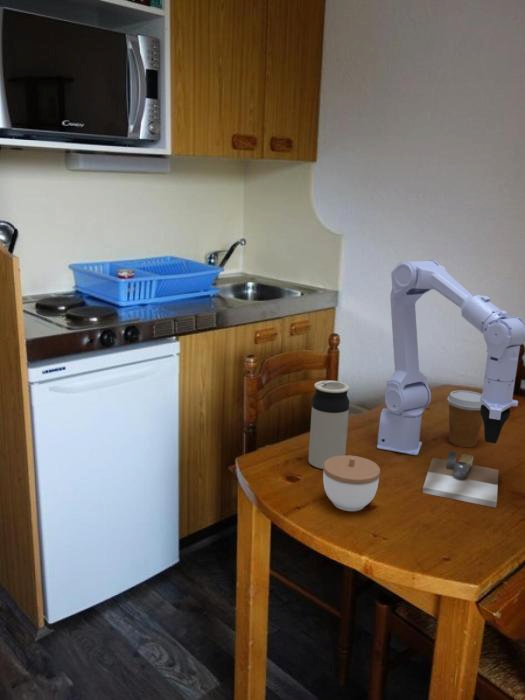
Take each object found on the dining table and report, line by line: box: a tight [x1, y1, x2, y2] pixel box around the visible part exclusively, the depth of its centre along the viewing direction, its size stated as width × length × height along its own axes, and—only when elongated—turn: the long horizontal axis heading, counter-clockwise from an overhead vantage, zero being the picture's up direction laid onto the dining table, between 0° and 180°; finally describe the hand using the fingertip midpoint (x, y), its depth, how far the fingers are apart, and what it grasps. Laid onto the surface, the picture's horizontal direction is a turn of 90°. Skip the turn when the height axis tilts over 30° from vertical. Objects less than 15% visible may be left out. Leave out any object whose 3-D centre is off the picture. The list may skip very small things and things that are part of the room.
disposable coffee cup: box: [446, 390, 484, 448], centre depth 150 cm, size 10×10×12 cm
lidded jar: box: [322, 454, 381, 512], centre depth 118 cm, size 11×11×9 cm
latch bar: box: [453, 453, 474, 479], centre depth 131 cm, size 9×3×3 cm, turn 151°
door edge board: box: [422, 457, 500, 508], centre depth 129 cm, size 14×16×1 cm
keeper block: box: [446, 450, 457, 470], centre depth 135 cm, size 2×4×2 cm, turn 158°
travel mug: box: [308, 379, 350, 470], centre depth 134 cm, size 8×8×18 cm
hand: (490, 441), depth 126 cm, fingers closed
